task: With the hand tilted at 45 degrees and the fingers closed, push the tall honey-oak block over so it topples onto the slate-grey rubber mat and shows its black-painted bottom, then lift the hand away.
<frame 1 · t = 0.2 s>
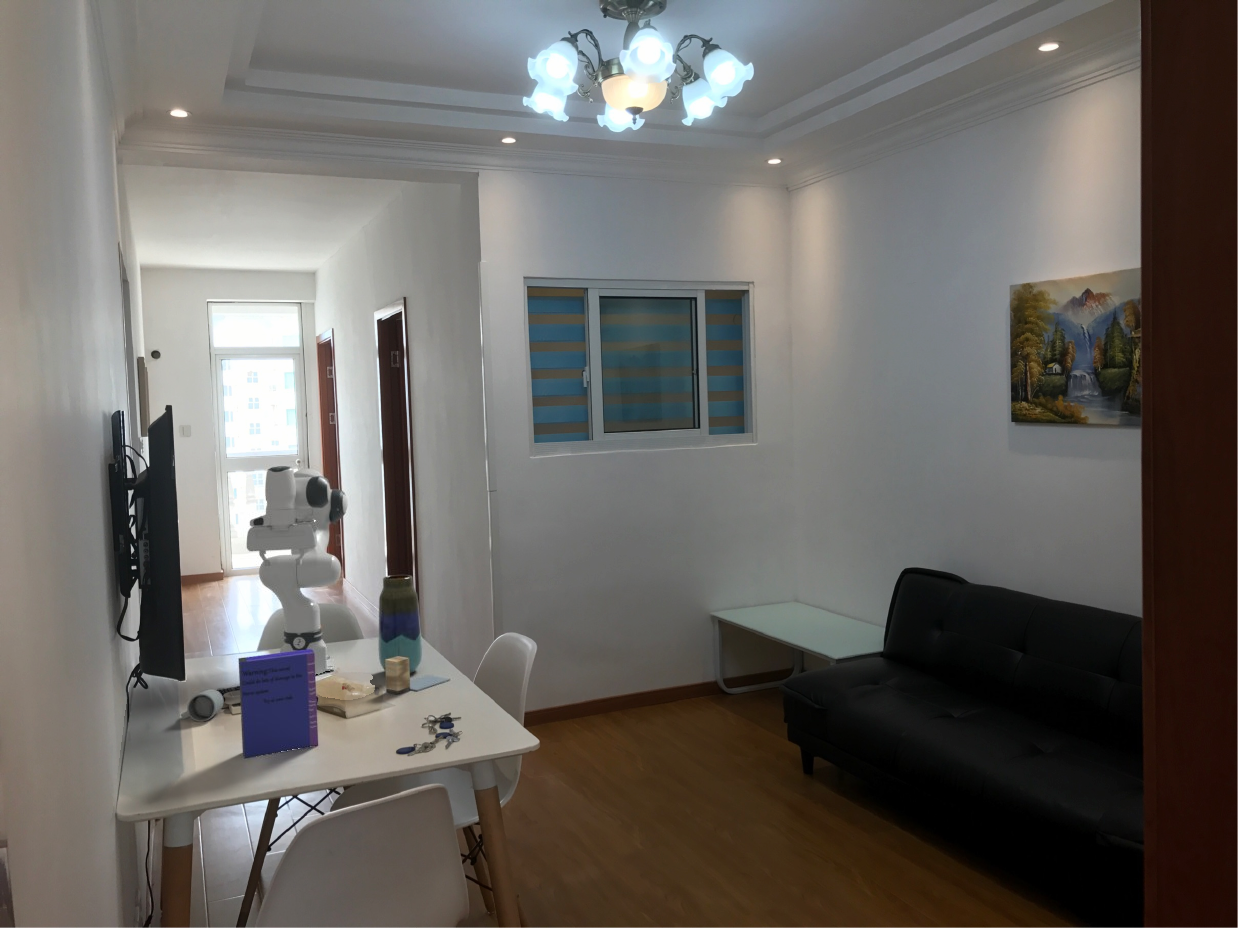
hand: (282, 565, 289), 39 cm above the table, tool pointing down, fingers open, 8 cm apart
oak block: (398, 691, 289), on the table
rubber mat: (422, 683, 297), on the table
ceramic mug: (201, 718, 268), on the table
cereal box: (280, 749, 240), on the table
vase: (401, 672, 311), on the table
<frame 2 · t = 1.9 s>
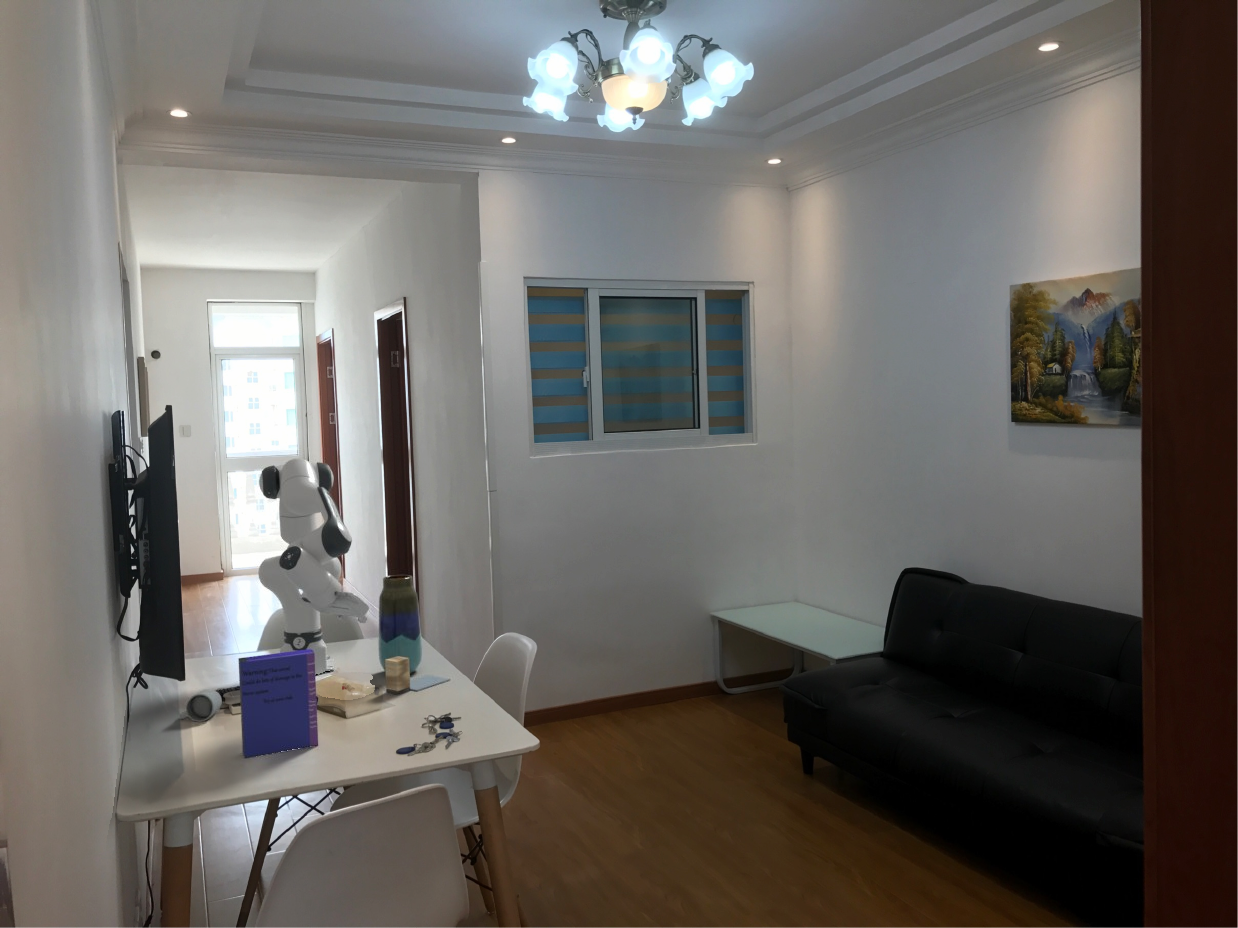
hand: (354, 619, 275), 25 cm above the table, tool tilted 45°, fingers open, 7 cm apart
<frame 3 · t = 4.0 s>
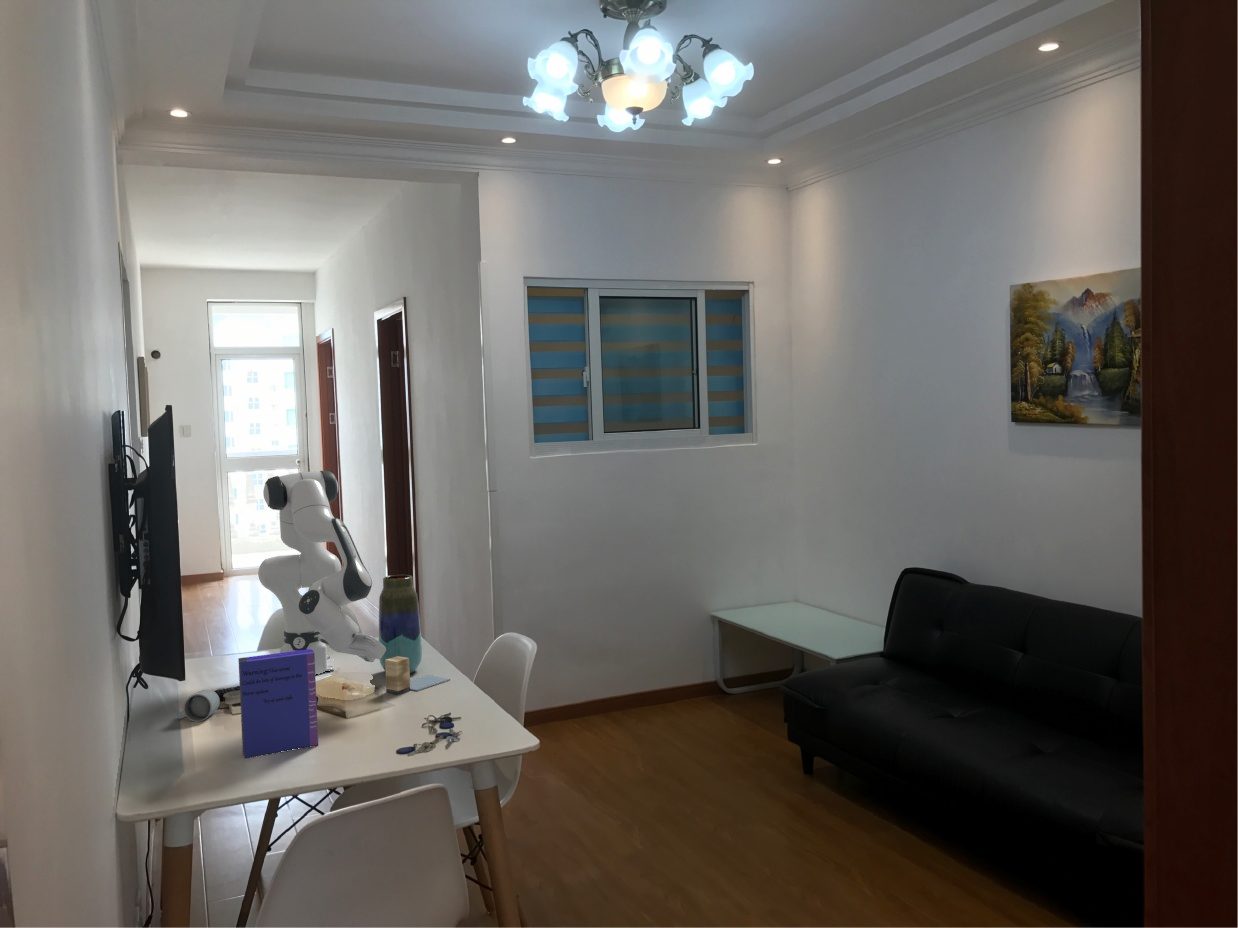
hand: (371, 659, 280), 12 cm above the table, tool tilted 45°, fingers closed
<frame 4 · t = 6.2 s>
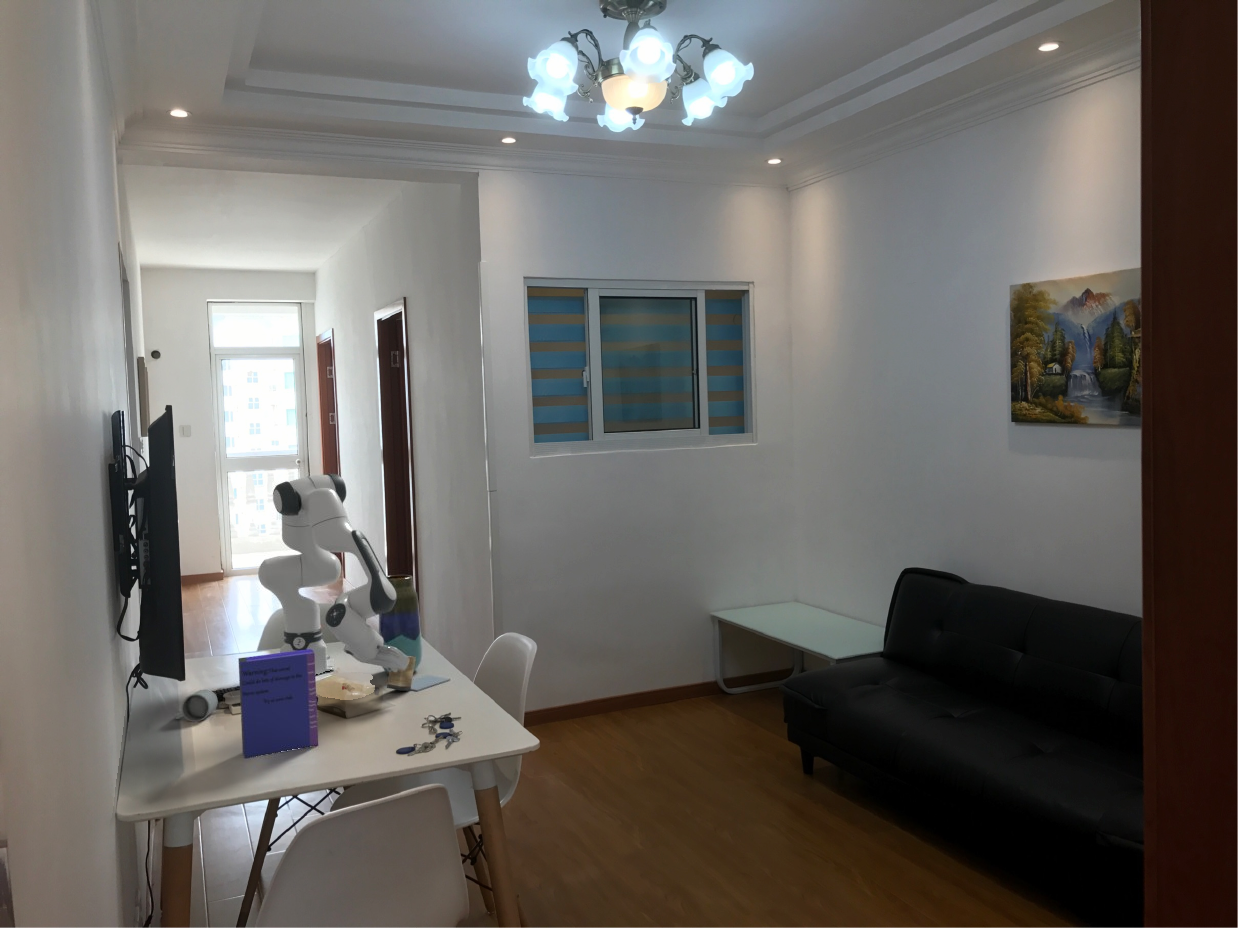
hand: (394, 669, 287), 7 cm above the table, tool tilted 45°, fingers closed
oak block: (398, 689, 289), point 1 cm above the table, tilted 16°, touching gripper
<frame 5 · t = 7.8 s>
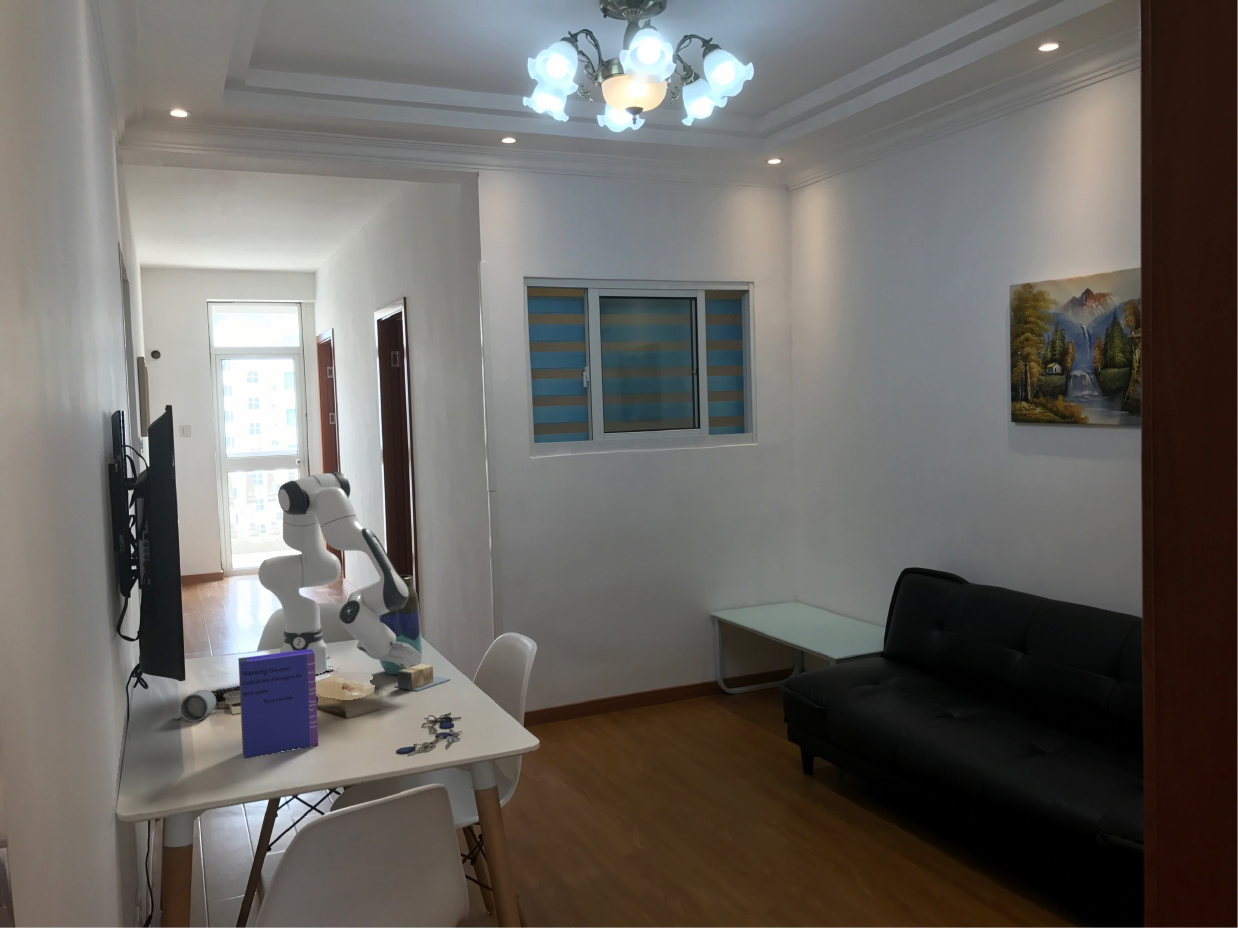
hand: (406, 666, 291), 7 cm above the table, tool tilted 45°, fingers closed
oak block: (403, 680, 290), point 3 cm above the table, tilted 90°, touching rubber mat
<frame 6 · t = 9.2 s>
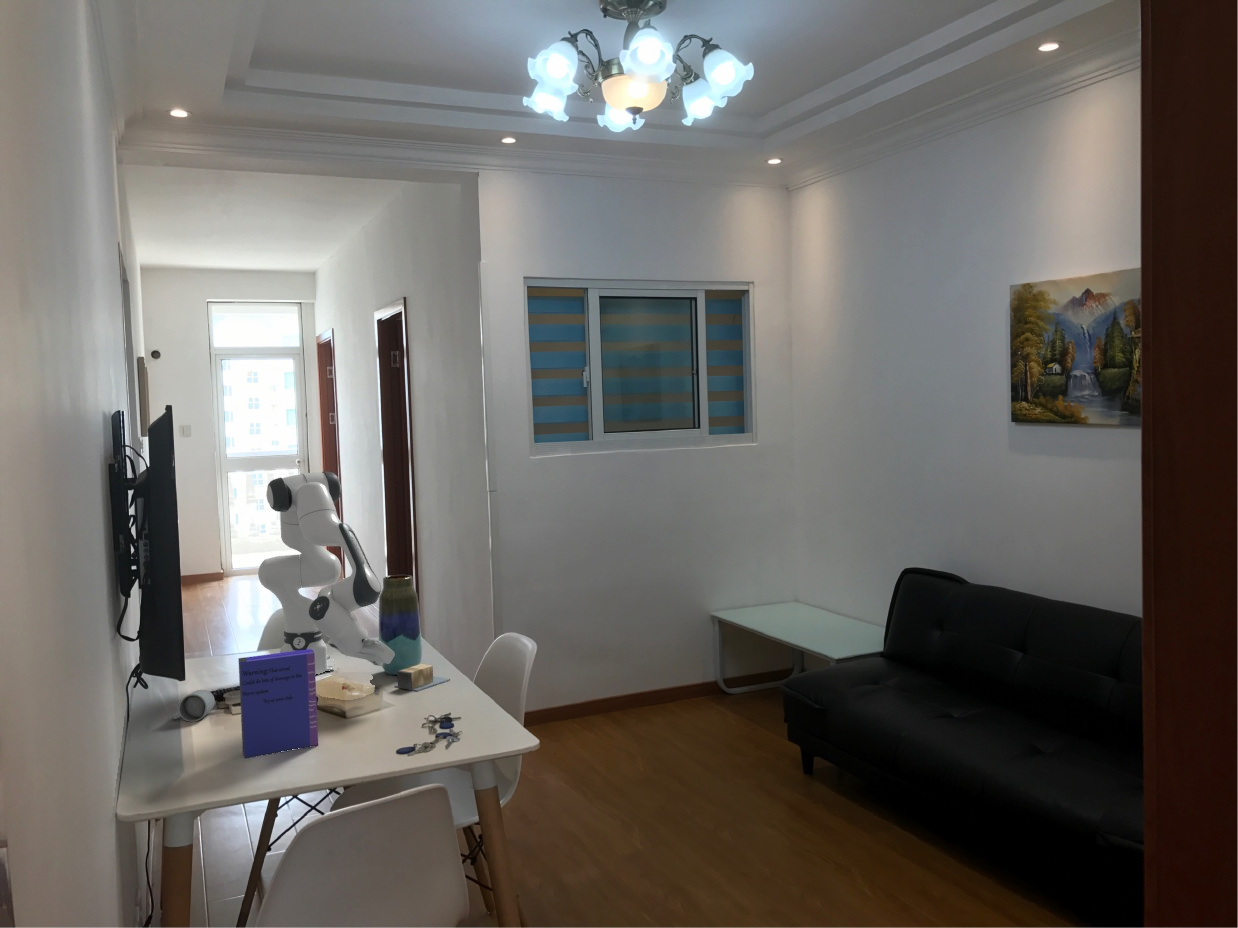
hand: (379, 663, 283), 10 cm above the table, tool tilted 45°, fingers closed
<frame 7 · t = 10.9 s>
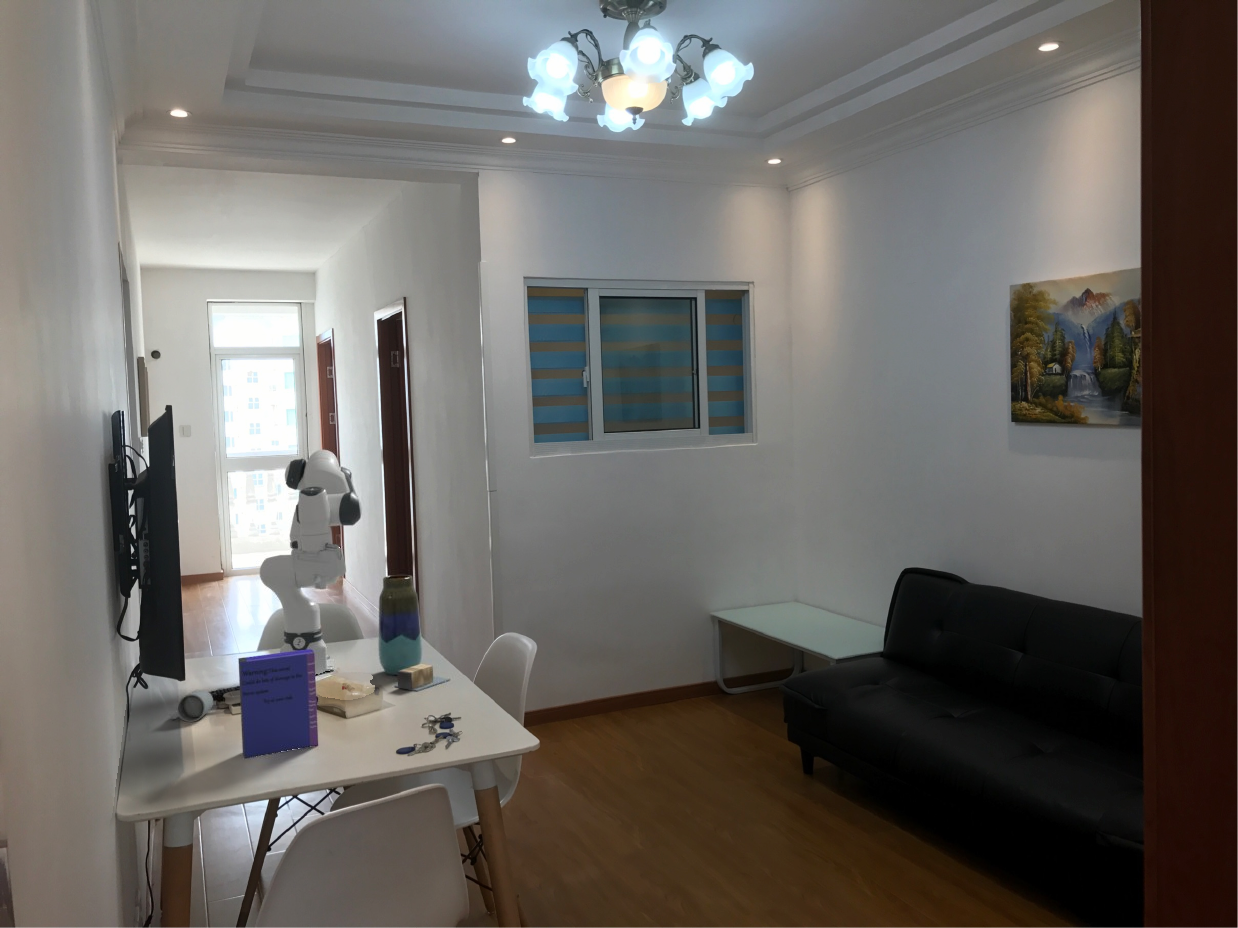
hand: (320, 588, 282), 33 cm above the table, tool pointing down, fingers closed
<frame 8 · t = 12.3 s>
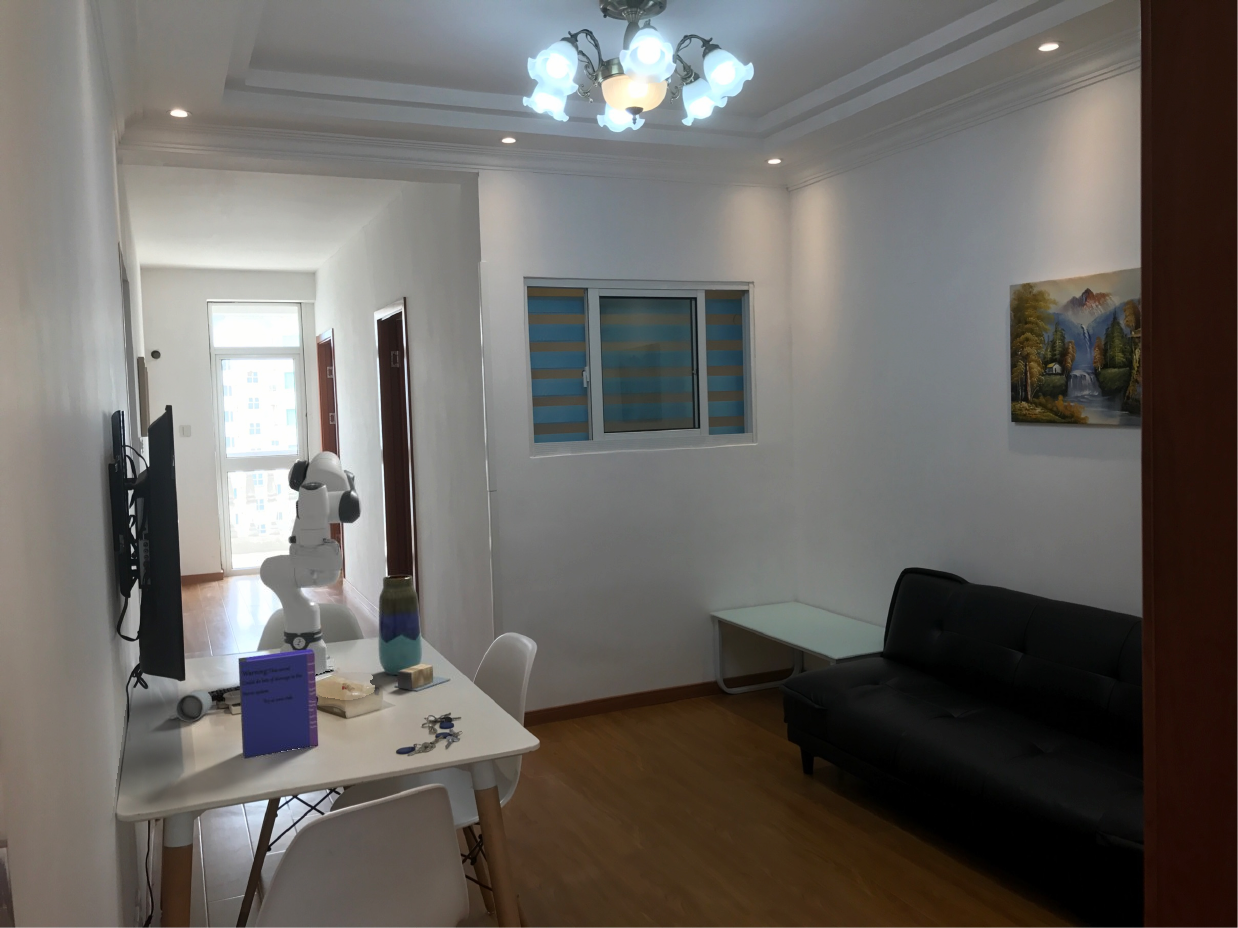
hand: (317, 584, 282), 34 cm above the table, tool pointing down, fingers closed
at the end: oak block tilted 90°; oak block touching rubber mat; oak block inside the target area (0.2 cm from its centre), point 2.9 cm above the table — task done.
